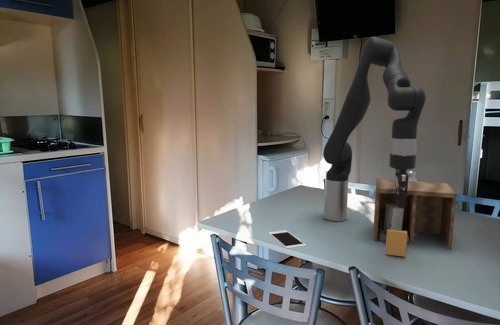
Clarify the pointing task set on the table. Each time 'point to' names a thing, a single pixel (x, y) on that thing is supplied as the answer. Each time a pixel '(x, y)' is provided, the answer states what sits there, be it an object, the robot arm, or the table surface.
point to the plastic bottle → (412, 175)
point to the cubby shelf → (419, 208)
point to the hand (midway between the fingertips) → (399, 203)
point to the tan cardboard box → (394, 241)
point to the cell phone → (286, 239)
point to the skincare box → (393, 218)
